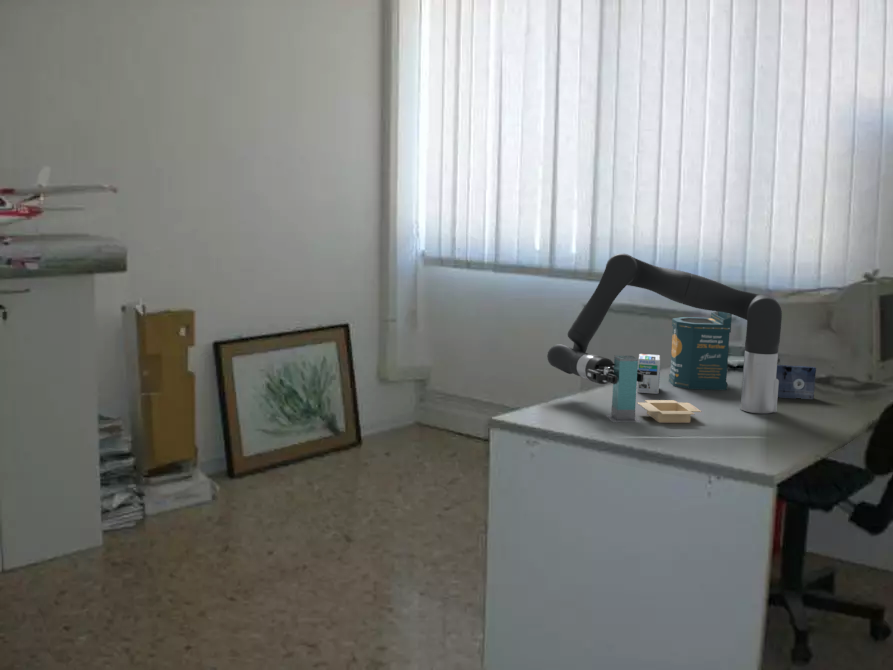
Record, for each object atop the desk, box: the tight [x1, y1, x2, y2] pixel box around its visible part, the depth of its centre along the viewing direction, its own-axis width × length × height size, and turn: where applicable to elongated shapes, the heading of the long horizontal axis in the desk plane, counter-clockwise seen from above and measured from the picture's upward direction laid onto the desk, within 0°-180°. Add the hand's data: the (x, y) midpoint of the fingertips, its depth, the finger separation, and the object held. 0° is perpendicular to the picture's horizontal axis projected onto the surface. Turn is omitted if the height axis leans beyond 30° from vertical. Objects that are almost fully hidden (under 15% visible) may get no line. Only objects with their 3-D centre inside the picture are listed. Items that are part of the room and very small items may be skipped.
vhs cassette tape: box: [776, 364, 817, 400], centre depth 317 cm, size 18×3×10 cm, turn 80°
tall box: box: [610, 355, 639, 421], centre depth 280 cm, size 5×5×17 cm
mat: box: [604, 414, 642, 423], centre depth 281 cm, size 8×8×1 cm
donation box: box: [668, 311, 733, 391], centre depth 332 cm, size 16×16×28 cm
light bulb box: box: [636, 353, 661, 395], centre depth 321 cm, size 11×7×11 cm, turn 168°
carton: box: [636, 399, 702, 424], centre depth 283 cm, size 15×17×4 cm
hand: (629, 379), depth 277 cm, fingers open, 8 cm apart
